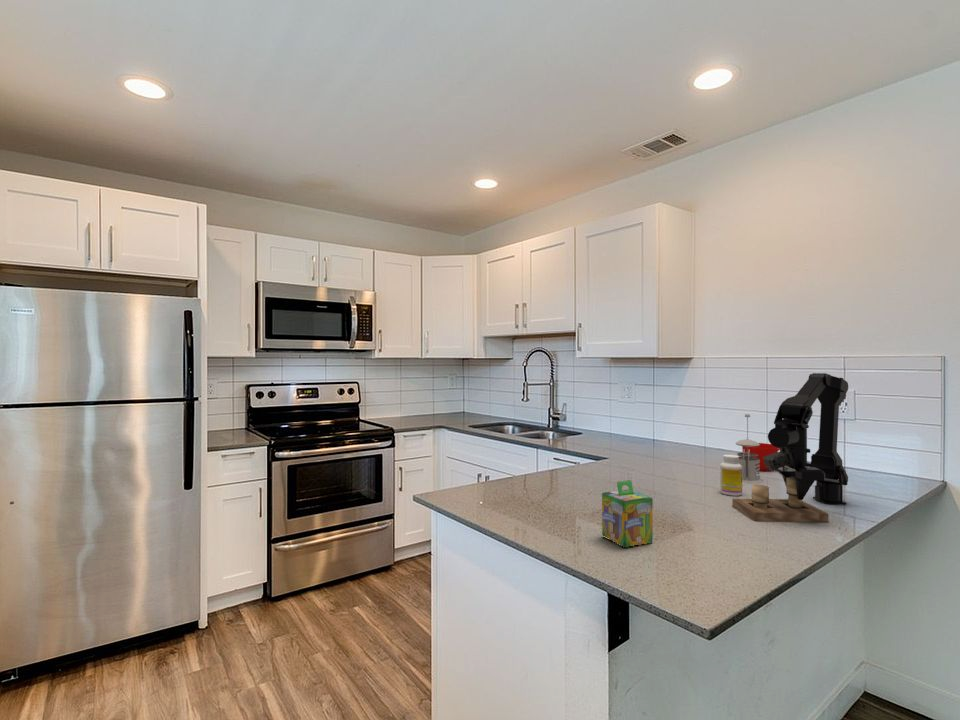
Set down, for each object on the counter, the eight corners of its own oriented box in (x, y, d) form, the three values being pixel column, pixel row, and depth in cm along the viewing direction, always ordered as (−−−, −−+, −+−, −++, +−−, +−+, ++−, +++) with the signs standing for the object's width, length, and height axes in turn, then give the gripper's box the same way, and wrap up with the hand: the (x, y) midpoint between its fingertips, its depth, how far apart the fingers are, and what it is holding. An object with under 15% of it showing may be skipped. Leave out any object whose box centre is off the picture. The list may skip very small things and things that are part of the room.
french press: (763, 479, 189) (763, 413, 189) (761, 485, 179) (761, 416, 179) (734, 476, 194) (734, 411, 194) (731, 482, 184) (730, 414, 184)
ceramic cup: (795, 472, 199) (795, 447, 199) (752, 473, 199) (752, 448, 199) (776, 466, 212) (776, 442, 212) (736, 466, 212) (736, 442, 212)
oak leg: (798, 503, 148) (798, 477, 148) (807, 508, 144) (807, 480, 144) (783, 503, 149) (783, 476, 149) (791, 508, 144) (791, 480, 144)
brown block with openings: (799, 507, 153) (799, 481, 153) (828, 522, 139) (828, 493, 139) (732, 506, 154) (732, 480, 154) (754, 521, 140) (754, 492, 140)
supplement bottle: (745, 496, 165) (744, 458, 165) (723, 495, 166) (723, 457, 166) (738, 491, 171) (738, 454, 171) (718, 490, 173) (717, 453, 173)
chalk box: (624, 549, 120) (624, 487, 120) (600, 537, 128) (600, 479, 128) (654, 543, 123) (654, 483, 123) (629, 532, 132) (629, 476, 132)
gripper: (751, 439, 156) (752, 488, 156) (784, 449, 137) (784, 506, 137) (788, 439, 155) (788, 489, 155) (826, 450, 137) (826, 507, 137)
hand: (795, 497), depth 146 cm, fingers closed on oak leg, 4 cm apart
